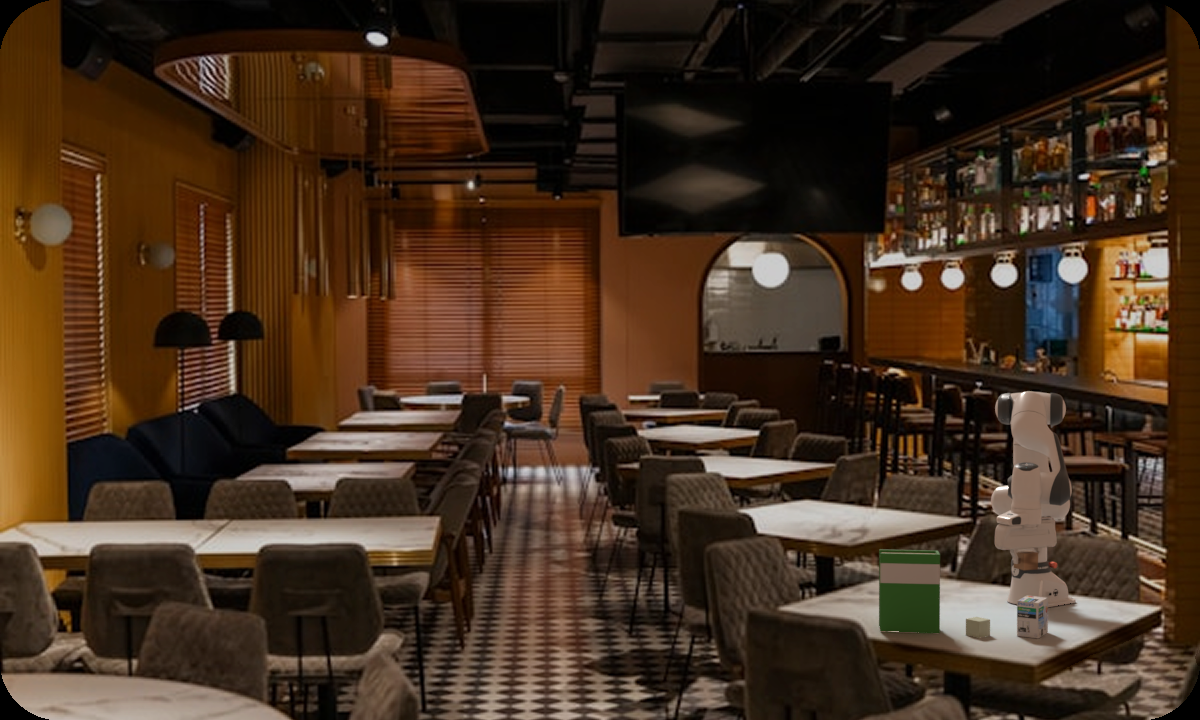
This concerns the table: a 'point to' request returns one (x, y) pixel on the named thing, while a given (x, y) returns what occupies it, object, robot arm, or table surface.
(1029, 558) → the walnut cube
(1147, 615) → the table surface
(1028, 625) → the light bulb box
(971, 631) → the sage cube
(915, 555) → the green upright box
